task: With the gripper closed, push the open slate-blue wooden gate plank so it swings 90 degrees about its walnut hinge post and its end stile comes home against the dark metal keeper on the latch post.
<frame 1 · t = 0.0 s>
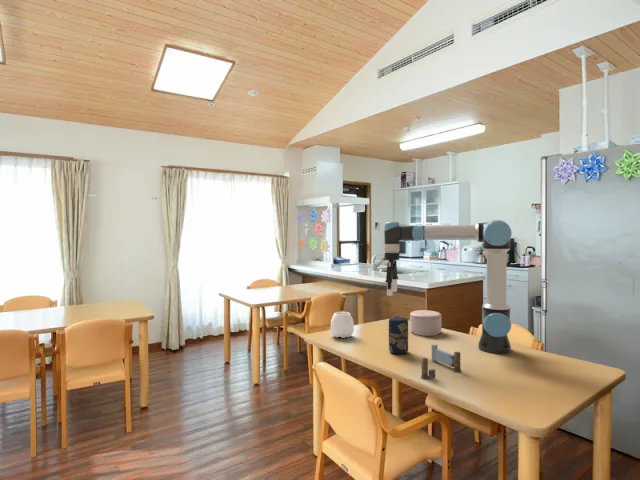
hand: (392, 293, 209), 28 cm above the table, fingers open, 13 cm apart
gate: (443, 356, 182), point 4 cm above the table, hinge at -90.0°
canister: (398, 352, 202), on the table
cup: (342, 336, 233), on the table
container: (425, 332, 240), on the table
gateposts: (457, 371, 175), on the table
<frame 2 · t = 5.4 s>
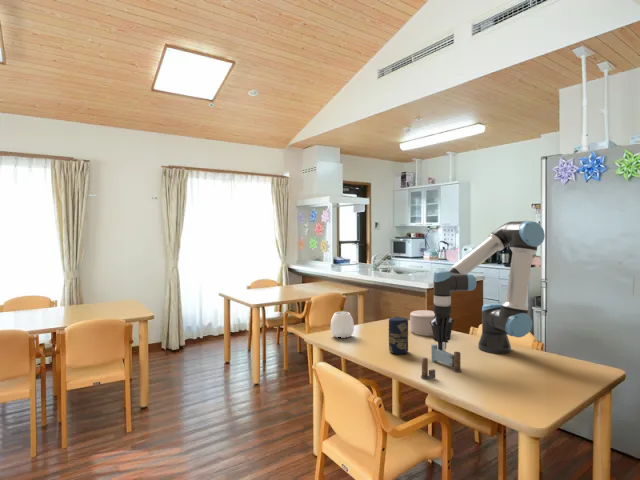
hand: (442, 356, 185), 3 cm above the table, fingers closed
gate: (443, 356, 182), point 4 cm above the table, hinge at -89.8°, touching gripper
everything else where it was.
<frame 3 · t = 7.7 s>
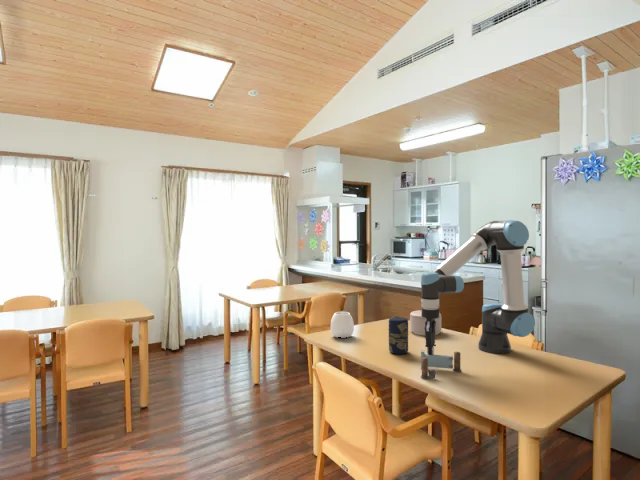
hand: (430, 361, 179), 3 cm above the table, fingers closed
gate: (436, 360, 177), point 4 cm above the table, hinge at -39.6°, touching gripper
everything else where it was.
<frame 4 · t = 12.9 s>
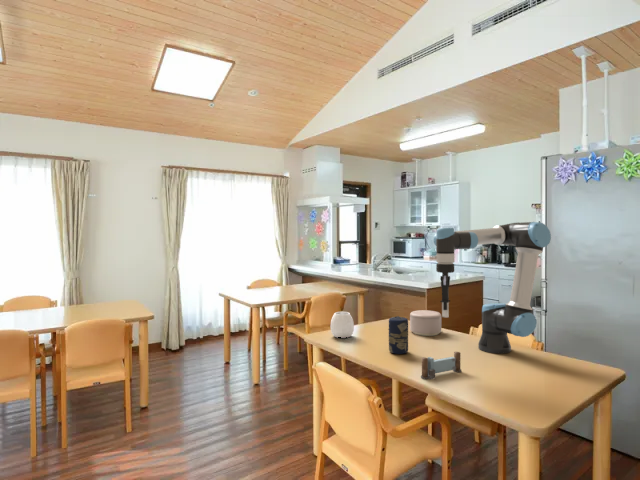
hand: (445, 316, 179), 22 cm above the table, fingers closed
gate: (441, 364, 171), point 4 cm above the table, hinge at -0.7°
everything else where it was.
at the end: gate at -1° (first picture: -90°) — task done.
